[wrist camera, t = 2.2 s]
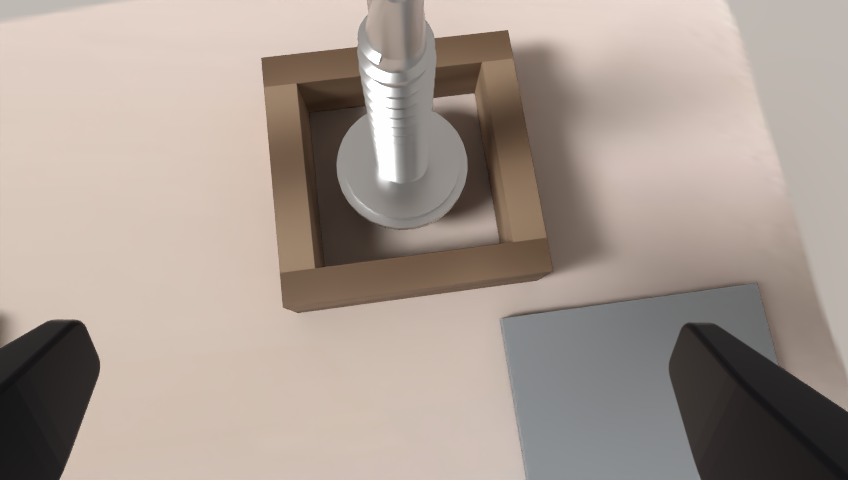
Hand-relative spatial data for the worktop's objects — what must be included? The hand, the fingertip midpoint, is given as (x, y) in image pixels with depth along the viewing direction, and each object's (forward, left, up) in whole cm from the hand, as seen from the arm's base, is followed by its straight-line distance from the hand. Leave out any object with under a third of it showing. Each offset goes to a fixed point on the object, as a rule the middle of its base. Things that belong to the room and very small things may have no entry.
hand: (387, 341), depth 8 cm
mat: (-4, -9, -13) cm, 16 cm away
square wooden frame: (+7, -1, -13) cm, 15 cm away
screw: (+7, -1, -13) cm, 15 cm away
